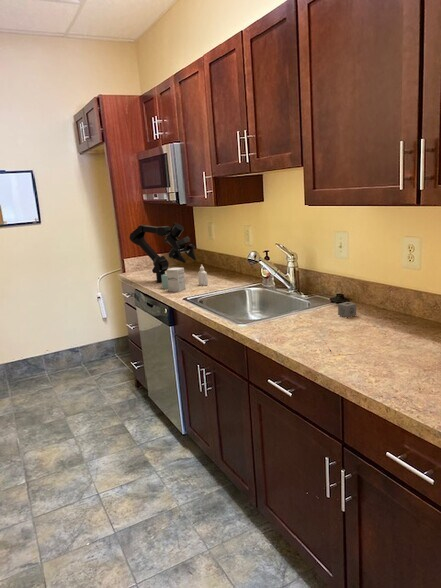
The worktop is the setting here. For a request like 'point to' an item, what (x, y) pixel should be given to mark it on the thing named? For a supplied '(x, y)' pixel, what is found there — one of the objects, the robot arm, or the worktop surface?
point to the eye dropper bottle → (202, 277)
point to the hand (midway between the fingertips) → (190, 261)
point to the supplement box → (176, 279)
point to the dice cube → (347, 309)
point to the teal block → (164, 281)
